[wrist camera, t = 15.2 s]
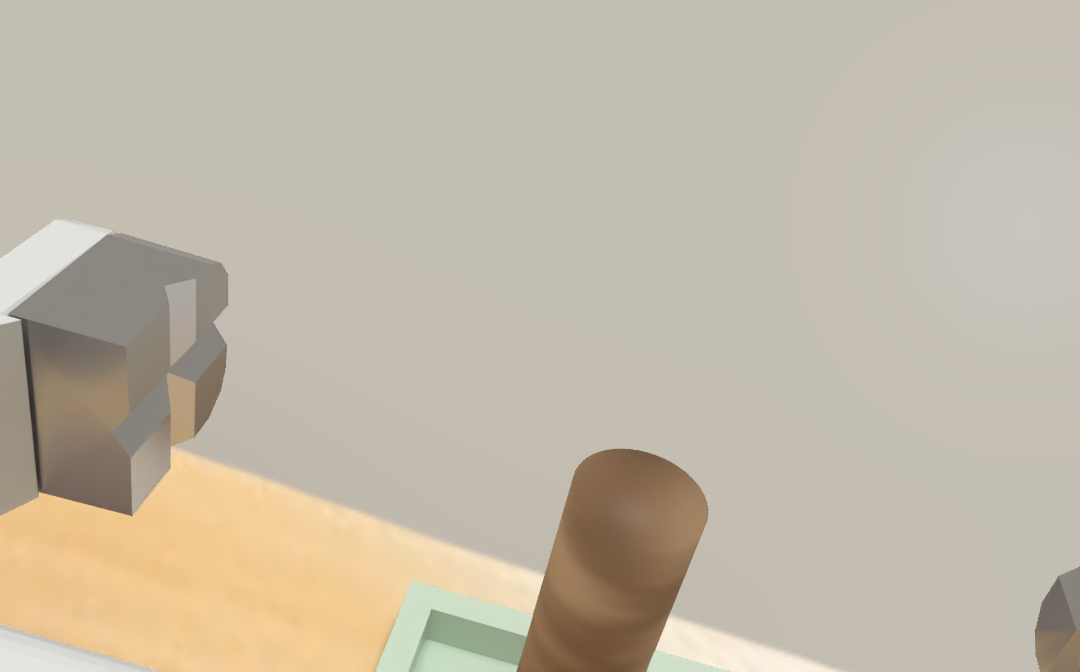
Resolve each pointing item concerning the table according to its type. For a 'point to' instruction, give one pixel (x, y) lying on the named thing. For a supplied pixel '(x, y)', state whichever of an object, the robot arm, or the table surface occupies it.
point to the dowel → (615, 564)
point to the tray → (472, 636)
